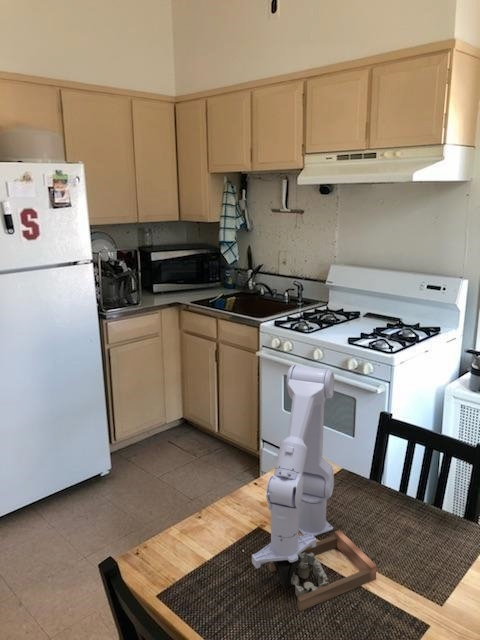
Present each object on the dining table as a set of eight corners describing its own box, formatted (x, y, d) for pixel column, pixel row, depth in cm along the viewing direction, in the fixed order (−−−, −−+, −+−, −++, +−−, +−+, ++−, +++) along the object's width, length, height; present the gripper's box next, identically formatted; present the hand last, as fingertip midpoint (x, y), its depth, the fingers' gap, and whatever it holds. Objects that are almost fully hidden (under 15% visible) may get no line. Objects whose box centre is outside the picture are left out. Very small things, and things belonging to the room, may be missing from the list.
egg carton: (329, 597, 109) (330, 581, 108) (294, 602, 108) (294, 586, 107) (315, 561, 119) (316, 546, 118) (283, 565, 118) (283, 550, 117)
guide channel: (268, 568, 117) (268, 555, 116) (339, 542, 125) (339, 529, 124) (300, 611, 106) (300, 597, 105) (375, 579, 114) (376, 565, 113)
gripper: (262, 551, 101) (263, 608, 105) (324, 529, 107) (323, 584, 111) (246, 530, 107) (247, 585, 111) (306, 510, 113) (305, 563, 117)
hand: (284, 583), depth 111 cm, fingers closed
